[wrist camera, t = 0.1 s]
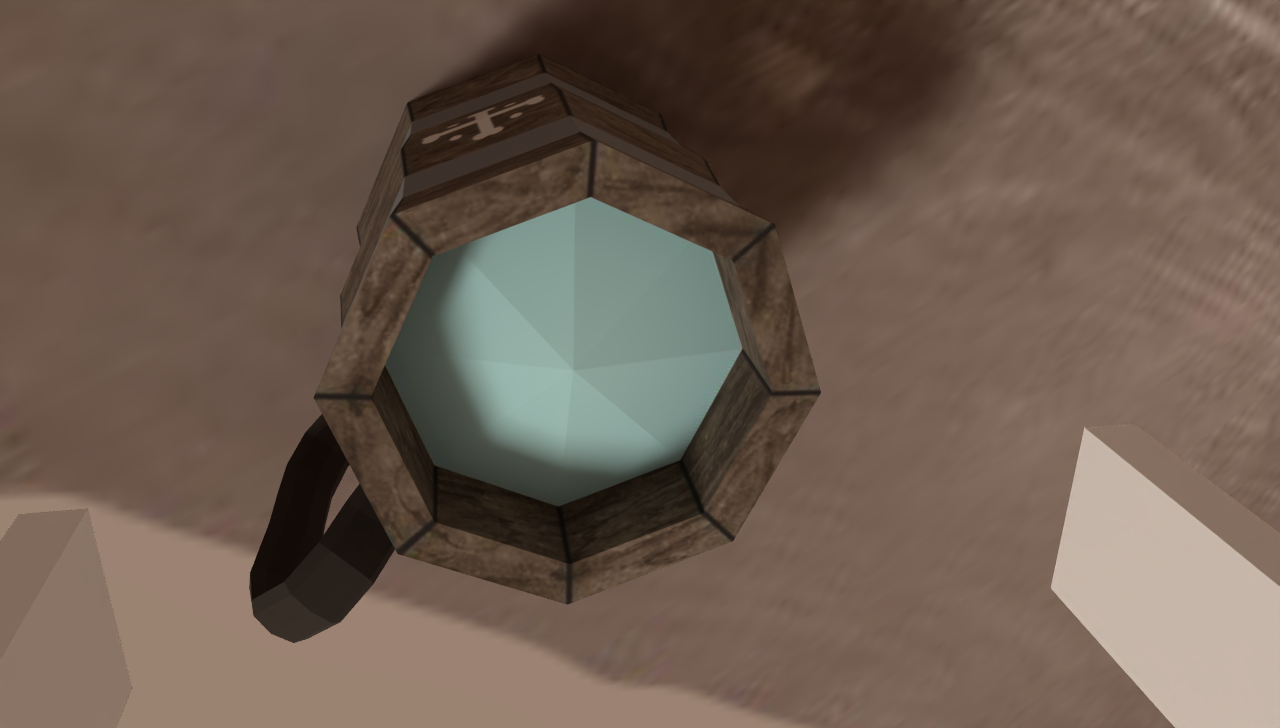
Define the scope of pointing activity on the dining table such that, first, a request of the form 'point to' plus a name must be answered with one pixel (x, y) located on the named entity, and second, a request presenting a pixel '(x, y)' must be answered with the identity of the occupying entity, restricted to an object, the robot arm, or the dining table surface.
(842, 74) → the dining table surface
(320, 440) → the mug
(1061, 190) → the dining table surface
